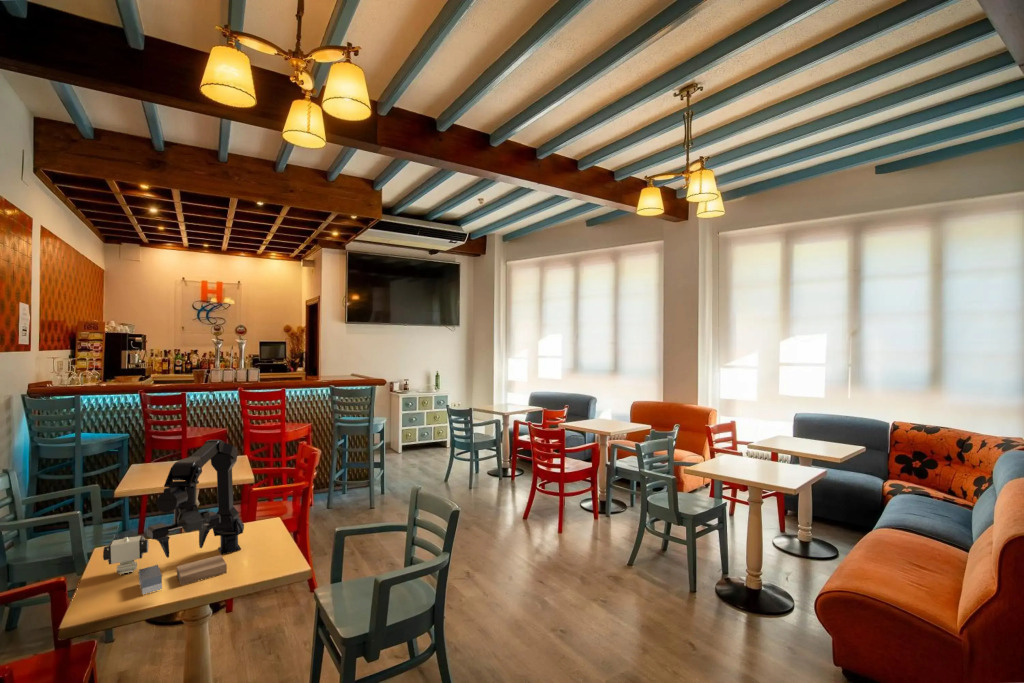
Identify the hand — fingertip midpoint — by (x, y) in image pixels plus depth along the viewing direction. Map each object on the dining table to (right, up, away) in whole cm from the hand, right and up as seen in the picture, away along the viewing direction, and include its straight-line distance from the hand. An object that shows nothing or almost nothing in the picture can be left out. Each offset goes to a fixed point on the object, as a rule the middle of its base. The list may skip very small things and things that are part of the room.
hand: (184, 552), depth 156 cm
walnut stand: (-2, -13, +13) cm, 18 cm away
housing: (-14, -13, +4) cm, 19 cm away
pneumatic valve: (-28, -13, +14) cm, 34 cm away
